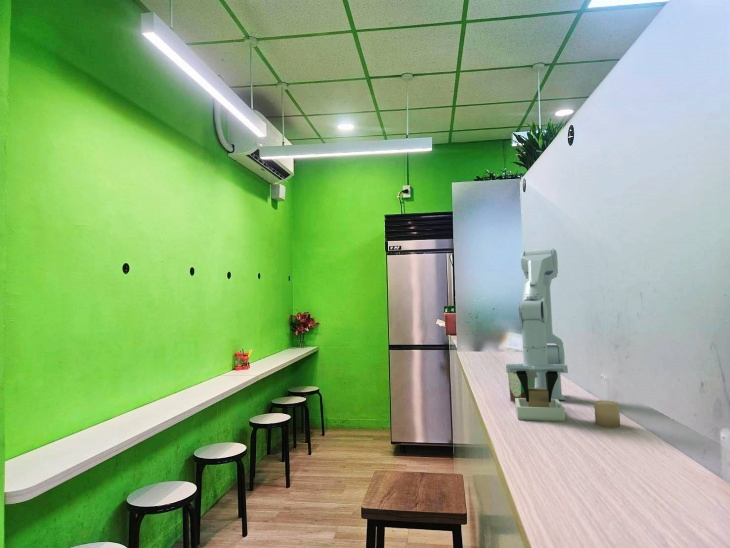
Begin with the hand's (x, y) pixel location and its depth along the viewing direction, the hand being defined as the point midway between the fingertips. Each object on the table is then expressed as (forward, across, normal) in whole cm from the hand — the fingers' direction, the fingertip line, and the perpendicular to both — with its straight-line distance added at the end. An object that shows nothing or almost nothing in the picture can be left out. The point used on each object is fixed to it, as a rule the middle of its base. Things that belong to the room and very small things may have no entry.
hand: (538, 401), depth 110 cm
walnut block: (+2, 0, 0) cm, 2 cm away
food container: (+4, -2, +12) cm, 13 cm away
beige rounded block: (+3, +14, -7) cm, 16 cm away
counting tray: (+3, 0, 0) cm, 3 cm away
